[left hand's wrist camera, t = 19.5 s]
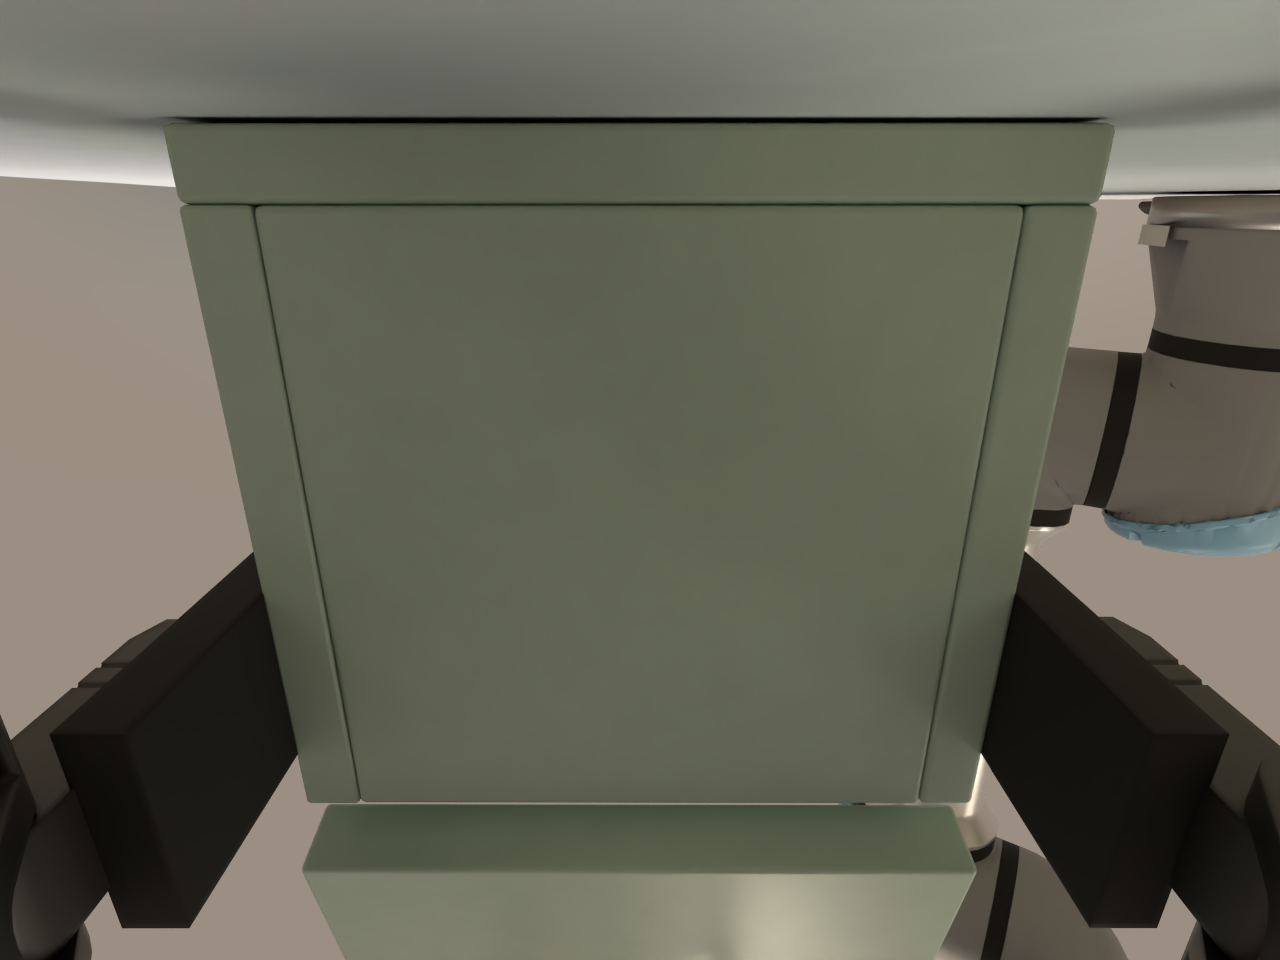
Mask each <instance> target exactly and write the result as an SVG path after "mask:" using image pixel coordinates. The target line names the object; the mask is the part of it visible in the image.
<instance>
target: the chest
mask: <svg viewBox="0 0 1280 960" xmlns="http://www.w3.org/2000/svg"><path fill="white" fill-rule="evenodd" d="M1114 133H1115V131H1114V126H1112V125H1110V124H1108V123H172V124H170V125H167V126H165V129H164V134H165V139H166V144H167V148H168V153H169V157H170V162H171V167H172V171H173V176H174V181H175V185H176V190H177V195H178V197H179V199H180V200H181V201H182V202H184V203H186V204H189V205H184V206H182V207H180V214H181V219H182V223H183V228H184V232H185V237H186V242H187V247H188V251H189V256H190V260H191V265H192V270H193V274H194V279H195V284H196V288H197V293H198V297H199V302H200V306H201V311H202V316H203V320H204V325H205V330H206V334H207V339H208V344H209V348H210V353H211V357H212V362H213V367H214V371H215V376H216V381H217V385H218V390H219V394H220V399H221V404H222V408H223V413H224V417H225V422H226V427H227V431H228V436H229V441H230V445H231V450H232V454H233V459H234V464H235V468H236V473H237V477H238V482H239V487H240V491H241V496H242V501H243V505H244V510H245V514H246V519H247V524H248V528H249V533H250V538H251V542H252V547H253V551H254V556H255V561H256V565H257V570H258V574H259V579H260V584H261V588H262V593H263V595H264V599H265V604H266V609H267V613H268V618H269V623H270V627H271V632H272V636H273V641H274V646H275V650H276V655H277V660H278V664H279V669H280V673H281V678H282V683H283V687H284V692H285V697H286V701H287V706H288V710H289V715H290V720H291V724H292V729H293V734H294V738H295V743H296V747H297V752H298V759H299V764H300V768H301V773H302V778H303V782H304V787H305V791H306V796H307V800H308V802H310V803H357V802H359V801H360V799H362V800H363V801H365V802H620V803H621V802H624V803H629V802H631V803H914V802H916V801H917V800H918V798H919V800H920V801H921V802H924V803H967V802H969V801H970V800H971V797H972V793H973V788H974V783H975V779H976V774H977V769H978V765H979V760H980V755H981V751H982V746H983V741H984V737H985V732H986V727H987V723H988V718H989V713H990V709H991V704H992V700H993V695H994V690H995V686H996V681H997V676H998V672H999V667H1000V662H1001V658H1002V653H1003V648H1004V644H1005V639H1006V634H1007V630H1008V625H1009V620H1010V616H1011V611H1012V607H1013V602H1014V597H1015V593H1016V588H1017V583H1018V579H1019V574H1020V569H1021V565H1022V560H1023V555H1024V551H1025V546H1026V541H1027V537H1028V532H1029V527H1030V523H1031V518H1032V513H1033V509H1034V504H1035V500H1036V495H1037V490H1038V486H1039V481H1040V476H1041V472H1042V467H1043V462H1044V458H1045V453H1046V448H1047V444H1048V439H1049V434H1050V430H1051V425H1052V420H1053V416H1054V411H1055V406H1056V402H1057V397H1058V393H1059V388H1060V383H1061V379H1062V374H1063V369H1064V365H1065V360H1066V355H1067V351H1068V346H1069V341H1070V337H1071V332H1072V327H1073V323H1074V318H1075V313H1076V309H1077V304H1078V299H1079V295H1080V290H1081V286H1082V281H1083V276H1084V272H1085V267H1086V262H1087V257H1088V253H1089V248H1090V243H1091V239H1092V234H1093V229H1094V225H1095V220H1096V216H1097V212H1096V208H1095V207H1093V206H1090V205H1089V204H1092V203H1094V202H1097V201H1098V200H1099V198H1100V196H1101V193H1102V188H1103V184H1104V179H1105V174H1106V170H1107V165H1108V160H1109V156H1110V151H1111V147H1112V142H1113V137H1114Z"/></svg>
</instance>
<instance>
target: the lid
mask: <svg viewBox="0 0 1280 960" xmlns="http://www.w3.org/2000/svg"><path fill="white" fill-rule="evenodd" d="M302 872H303V874H304V876H305V878H306V880H307V882H308V884H309V886H310V888H311V890H312V892H313V895H314V897H315V899H316V901H317V903H318V905H319V907H320V909H321V911H322V913H323V915H324V917H325V919H326V921H327V923H328V925H329V927H330V929H331V931H332V933H333V935H334V937H335V939H336V942H337V944H338V946H339V948H340V950H341V952H342V954H343V956H344V958H345V960H934V959H935V957H936V955H937V953H938V951H939V949H940V947H941V945H942V943H943V941H944V939H945V937H946V935H947V933H948V931H949V929H950V927H951V924H952V922H953V920H954V918H955V916H956V914H957V912H958V910H959V908H960V906H961V904H962V902H963V900H964V898H965V896H966V894H967V892H968V889H969V887H970V885H971V883H972V881H973V879H974V877H975V875H976V866H975V863H974V861H973V858H972V856H971V853H970V851H969V848H968V846H967V843H966V841H965V838H964V835H963V833H962V830H961V828H960V825H959V823H958V820H957V818H956V815H955V813H954V810H953V808H952V807H951V806H948V805H449V804H448V805H447V804H444V805H443V804H439V805H437V804H433V805H431V804H331V805H328V806H327V808H326V809H325V812H324V814H323V817H322V819H321V822H320V824H319V827H318V829H317V832H316V834H315V837H314V839H313V842H312V844H311V847H310V849H309V852H308V854H307V857H306V859H305V862H304V864H303V867H302Z"/></svg>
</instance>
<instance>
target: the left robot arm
mask: <svg viewBox="0 0 1280 960" xmlns="http://www.w3.org/2000/svg"><path fill="white" fill-rule="evenodd" d="M1201 681H1202V680H1201V679H1200V678H1199V677H1197V676H1196V675H1195V674H1194V673H1193V672H1191V671H1190V670H1189V669H1188V668H1187V667H1186V666H1184V665H1179V664H1178V660H1177V659H1176V658H1175V657H1174V656H1173V655H1171V654H1170V653H1169V652H1168V651H1167V650H1165V649H1164V648H1163V647H1162V646H1161V645H1159V644H1158V643H1157V642H1156V641H1155V640H1154V639H1152V638H1151V637H1150V636H1148V635H1146V634H1144V633H1142V632H1140V631H1138V630H1137V629H1135V628H1133V627H1131V626H1129V625H1127V624H1125V623H1123V622H1121V621H1120V620H1118V619H1116V618H1114V617H1098V616H1097V615H1096V614H1095V613H1094V612H1093V611H1091V610H1090V609H1089V608H1088V607H1087V606H1086V605H1085V604H1084V603H1082V602H1081V601H1080V600H1079V599H1078V598H1077V597H1076V596H1075V595H1073V594H1072V593H1071V592H1070V591H1069V590H1068V589H1067V588H1066V587H1064V586H1063V585H1062V584H1061V583H1060V582H1059V581H1058V580H1057V579H1056V578H1055V577H1053V576H1052V575H1051V574H1050V573H1049V572H1048V571H1047V570H1046V569H1044V568H1043V567H1042V566H1041V565H1040V564H1039V563H1038V562H1037V561H1036V560H1034V559H1033V558H1032V557H1031V556H1030V555H1029V554H1028V553H1027V552H1026V551H1024V555H1023V560H1022V565H1021V569H1020V574H1019V579H1018V583H1017V588H1016V593H1015V597H1014V602H1013V607H1012V611H1011V616H1010V620H1009V625H1008V630H1007V634H1006V639H1005V644H1004V648H1003V653H1002V658H1001V662H1000V667H999V672H998V676H997V681H996V686H995V690H994V695H993V700H992V704H991V709H990V713H989V718H988V723H987V727H986V732H985V737H984V741H983V746H982V751H981V754H982V756H983V757H984V759H985V761H986V762H987V764H988V765H989V767H990V769H991V770H992V772H993V773H994V775H995V777H996V778H997V780H998V782H999V783H1000V785H1001V786H1002V788H1003V790H1004V791H1005V793H1006V794H1007V796H1008V797H1009V799H1010V801H1011V802H1012V804H1013V805H1014V807H1015V809H1016V810H1017V812H1018V814H1019V815H1020V817H1021V818H1022V820H1023V822H1024V823H1025V825H1026V826H1027V828H1028V830H1029V831H1030V833H1031V834H1032V836H1033V838H1034V839H1035V841H1036V842H1037V844H1038V846H1039V847H1040V849H1041V851H1042V852H1043V854H1044V855H1045V857H1046V859H1047V860H1048V862H1049V863H1050V865H1051V867H1052V868H1053V870H1054V871H1055V873H1056V875H1057V876H1058V878H1059V879H1060V881H1061V883H1062V884H1063V886H1064V887H1065V889H1066V891H1067V892H1068V894H1069V895H1070V897H1071V899H1072V900H1073V902H1074V904H1075V905H1076V907H1077V908H1078V910H1079V912H1080V913H1081V915H1082V916H1083V918H1084V920H1085V921H1086V923H1087V924H1088V926H1089V928H1157V926H1158V924H1159V921H1160V918H1161V916H1162V913H1163V910H1164V908H1165V905H1166V902H1167V900H1168V897H1169V894H1170V892H1171V889H1173V890H1174V891H1175V892H1176V894H1177V895H1178V896H1179V898H1180V899H1181V900H1182V902H1183V903H1184V904H1185V905H1186V907H1187V908H1188V909H1189V910H1190V912H1191V913H1192V914H1193V916H1194V917H1195V918H1196V920H1197V922H1196V924H1195V926H1194V929H1193V931H1192V934H1191V936H1190V939H1189V941H1188V944H1187V946H1186V949H1185V951H1184V954H1183V956H1182V959H1181V960H1280V746H1279V745H1278V744H1277V743H1276V742H1274V741H1273V740H1272V739H1271V738H1270V737H1269V736H1267V735H1266V734H1265V733H1264V732H1263V731H1262V730H1260V729H1259V728H1258V727H1257V726H1256V725H1254V724H1253V723H1252V722H1251V721H1250V720H1248V719H1247V718H1246V717H1245V716H1244V715H1242V714H1241V713H1240V712H1239V711H1238V710H1237V709H1235V708H1234V707H1233V706H1232V705H1231V704H1230V703H1228V702H1227V701H1226V700H1225V699H1224V698H1222V697H1221V696H1220V695H1219V694H1218V693H1216V692H1215V691H1214V690H1213V689H1212V688H1210V687H1209V686H1208V685H1202V682H1201ZM297 755H298V752H297V747H296V743H295V738H294V734H293V729H292V724H291V720H290V715H289V710H288V706H287V701H286V697H285V692H284V687H283V683H282V678H281V673H280V669H279V664H278V660H277V655H276V650H275V646H274V641H273V636H272V632H271V627H270V623H269V618H268V613H267V609H266V604H265V599H264V595H263V593H262V588H261V584H260V579H259V574H258V570H257V565H256V561H255V556H254V552H253V553H251V554H250V555H249V556H248V557H247V558H246V559H245V560H244V561H242V562H241V563H240V564H239V565H238V566H237V567H236V568H235V569H234V570H232V571H231V572H230V573H229V574H228V575H227V576H226V577H225V578H223V579H222V580H221V581H220V582H219V583H218V584H217V585H216V586H215V587H213V588H212V589H211V590H210V591H209V592H208V593H207V594H206V595H205V596H203V597H202V598H201V599H200V600H199V601H198V602H197V603H195V604H194V605H193V606H192V607H191V608H190V609H189V610H188V611H187V612H185V613H184V614H183V615H182V616H181V617H180V618H179V619H167V620H165V621H163V622H161V623H159V624H157V625H156V626H154V627H152V628H150V629H148V630H146V631H144V632H142V633H141V634H139V635H137V636H135V637H133V638H131V639H129V640H128V641H127V642H126V643H125V644H123V645H122V646H121V647H120V648H119V649H118V650H116V651H115V652H114V653H113V654H112V655H111V656H109V657H108V658H107V659H106V660H105V661H103V662H102V666H101V668H95V669H94V670H93V671H92V672H90V673H89V674H88V675H87V676H86V677H85V678H83V679H82V680H81V681H80V682H79V683H78V687H77V688H72V689H70V690H69V691H68V692H67V693H66V694H64V695H63V696H62V697H61V698H60V699H59V700H57V701H56V702H55V703H54V704H53V705H52V706H50V707H49V708H48V709H47V710H46V711H44V712H43V713H42V714H41V715H40V716H39V717H37V718H36V719H35V720H34V721H33V722H32V723H30V724H29V725H28V726H27V727H26V728H24V729H23V730H22V731H21V732H20V733H19V734H17V735H16V736H15V737H14V738H13V739H12V740H10V738H9V735H8V733H7V730H6V728H5V725H4V723H3V720H2V718H1V715H0V960H91V955H92V949H91V943H90V937H89V934H88V931H87V929H86V926H85V924H84V921H85V920H86V919H87V917H88V916H89V915H90V913H91V912H92V911H93V910H94V908H95V907H96V906H97V904H98V903H99V902H100V900H101V899H102V898H103V897H104V895H105V894H106V893H107V892H109V895H110V897H111V900H112V903H113V905H114V908H115V910H116V913H117V916H118V919H119V921H120V924H121V926H122V928H190V926H191V925H192V923H193V921H194V920H195V918H196V917H197V915H198V913H199V912H200V910H201V908H202V907H203V905H204V904H205V902H206V901H207V899H208V897H209V896H210V894H211V893H212V891H213V889H214V888H215V886H216V884H217V883H218V881H219V880H220V878H221V876H222V875H223V873H224V872H225V870H226V868H227V867H228V865H229V864H230V862H231V860H232V859H233V857H234V856H235V854H236V852H237V851H238V849H239V848H240V846H241V844H242V843H243V841H244V840H245V838H246V836H247V835H248V833H249V832H250V830H251V828H252V827H253V825H254V824H255V822H256V820H257V819H258V817H259V816H260V814H261V812H262V811H263V809H264V807H265V806H266V804H267V803H268V801H269V799H270V798H271V796H272V795H273V793H274V791H275V790H276V788H277V787H278V785H279V783H280V782H281V780H282V779H283V777H284V775H285V774H286V772H287V771H288V769H289V767H290V766H291V764H292V763H293V761H294V759H295V758H296V756H297Z"/></svg>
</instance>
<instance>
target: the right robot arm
mask: <svg viewBox="0 0 1280 960" xmlns="http://www.w3.org/2000/svg"><path fill="white" fill-rule="evenodd" d="M1139 208H1140V209H1141V210H1142V211H1143V212H1144V213H1146V214H1149V216H1148V220H1147V224H1146V225H1142V229H1141V233H1140V238H1139V242H1138V244H1143V245H1149V253H1150V262H1151V271H1152V280H1153V288H1154V297H1155V306H1156V314H1155V320H1154V324H1153V328H1152V332H1151V336H1150V340H1149V344H1148V347H1147V350H1146V352H1145V353H1128V352H1118V351H1108V350H1096V349H1085V348H1073V347H1068V351H1067V355H1066V360H1065V365H1064V369H1063V374H1062V379H1061V383H1060V388H1059V393H1058V397H1057V402H1056V406H1055V411H1054V416H1053V420H1052V425H1051V430H1050V434H1049V439H1048V444H1047V448H1046V453H1045V458H1044V462H1043V467H1042V472H1041V476H1040V481H1039V486H1038V490H1037V495H1036V500H1035V504H1034V509H1033V513H1032V518H1031V523H1030V527H1029V532H1028V537H1027V541H1026V546H1025V551H1026V552H1027V553H1028V554H1029V555H1030V556H1031V557H1032V558H1033V559H1034V560H1036V561H1037V560H1038V555H1039V551H1040V547H1041V543H1042V542H1043V541H1044V540H1046V539H1047V538H1049V537H1051V536H1053V535H1054V534H1056V533H1058V532H1060V531H1062V530H1064V529H1066V528H1067V527H1068V524H1069V520H1070V515H1071V511H1072V507H1073V505H1074V504H1076V505H1086V506H1092V507H1097V508H1103V509H1102V515H1103V516H1104V520H1105V523H1106V524H1107V526H1108V527H1109V528H1110V529H1111V530H1112V531H1113V532H1115V533H1116V534H1118V535H1120V536H1122V537H1124V538H1126V539H1128V540H1138V541H1141V542H1142V543H1143V544H1144V545H1146V546H1149V547H1153V548H1157V549H1161V550H1166V551H1172V552H1178V553H1186V554H1194V555H1207V556H1245V555H1255V554H1262V553H1266V552H1269V551H1271V550H1276V549H1280V195H1226V196H1167V197H1154V198H1153V199H1152V201H1148V202H1141V203H1140V204H1139ZM989 773H990V767H989V765H988V764H987V762H986V761H985V759H984V757H983V756H982V754H981V755H980V760H979V765H978V769H977V774H976V779H975V783H974V788H973V793H972V797H971V800H970V801H969V802H967V803H924V802H921V801H920V800H919V798H918V800H917V801H916V802H914V803H839V805H948V806H951V807H952V808H953V810H954V813H955V815H956V818H957V820H958V823H959V825H960V828H961V830H962V833H963V835H964V838H965V841H966V843H967V846H968V848H969V851H970V853H971V856H972V858H973V861H974V863H975V866H976V875H975V877H974V879H973V881H972V883H971V885H970V887H969V889H968V892H967V894H966V896H965V898H964V900H963V902H962V904H961V906H960V908H959V910H958V912H957V914H956V916H955V918H954V920H953V922H952V924H951V927H950V929H949V931H948V933H947V935H946V937H945V939H944V941H943V943H942V945H941V947H940V949H939V951H938V953H937V955H936V957H935V959H934V960H1128V958H1127V956H1126V954H1125V952H1124V950H1123V948H1122V946H1121V944H1120V942H1119V940H1118V939H1117V937H1116V936H1115V934H1114V932H1113V931H1112V929H1111V928H1089V926H1088V924H1087V923H1086V921H1085V920H1084V918H1083V916H1082V915H1081V913H1080V912H1079V910H1078V908H1077V907H1076V905H1075V904H1074V902H1073V900H1072V899H1071V897H1070V895H1069V894H1068V892H1067V891H1066V889H1065V887H1064V886H1063V884H1062V883H1061V881H1060V879H1059V878H1058V876H1057V875H1056V873H1055V871H1054V870H1053V868H1052V867H1051V865H1050V863H1049V862H1048V860H1046V859H1045V858H1043V857H1041V856H1040V855H1038V854H1036V853H1034V852H1032V851H1030V850H1027V849H1025V848H1023V847H1020V846H1017V845H1015V844H1012V843H1010V842H1007V841H1005V840H1002V839H1000V838H998V837H996V834H997V829H998V823H997V819H996V816H995V814H994V812H993V810H992V808H991V807H990V806H989V804H988V803H987V802H986V800H985V799H984V795H985V791H986V786H987V782H988V777H989Z"/></svg>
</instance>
